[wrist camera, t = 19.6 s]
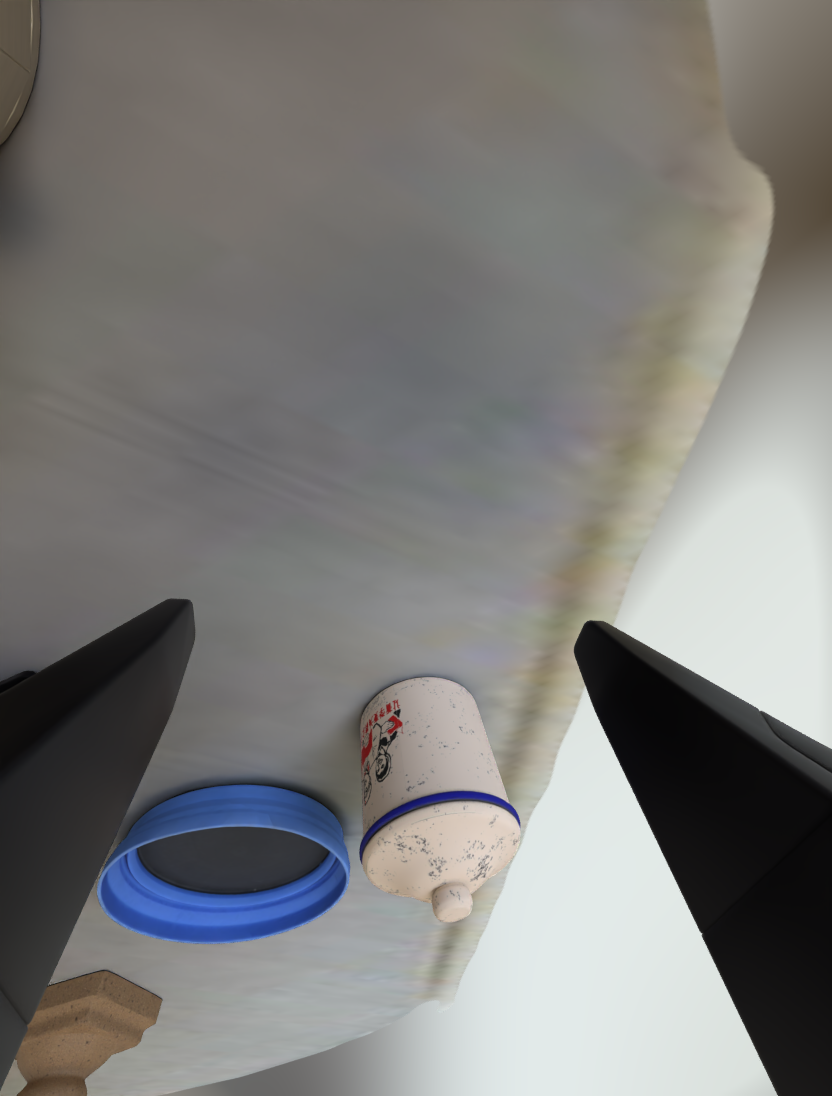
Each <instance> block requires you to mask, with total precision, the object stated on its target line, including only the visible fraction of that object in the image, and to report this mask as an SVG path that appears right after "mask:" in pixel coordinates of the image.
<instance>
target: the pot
mask: <svg viewBox="0 0 832 1096" xmlns="http://www.w3.org/2000/svg"><path fill="white" fill-rule="evenodd" d="M39 41H40V6H39V0H0V145H1V144H2V143H3V142H4V141H5V140H6V139H7V138H8V137H9V135H10V134H11V132H12V130H13V129H14V127H15V126H16V124H17V122H18V121H19V119H20V118H21V116H22V114H23V111H24V109H25V106H26V104H27V101H28V98H29V96H30V93H31V91H32V86H33V82H34V77H35V73H36V68H37V64H38V53H39Z"/></svg>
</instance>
